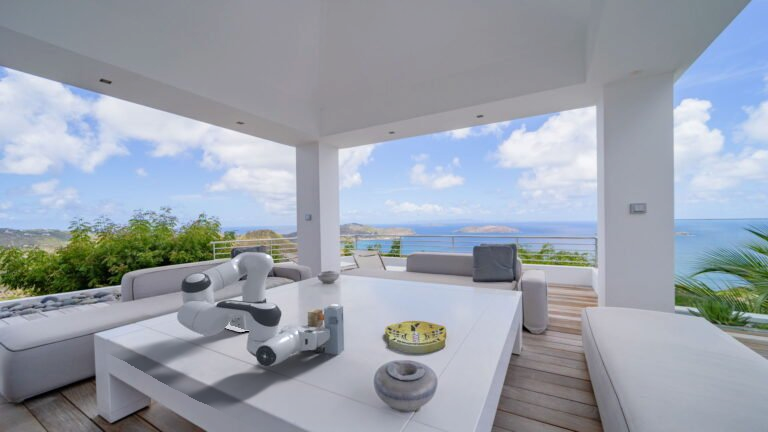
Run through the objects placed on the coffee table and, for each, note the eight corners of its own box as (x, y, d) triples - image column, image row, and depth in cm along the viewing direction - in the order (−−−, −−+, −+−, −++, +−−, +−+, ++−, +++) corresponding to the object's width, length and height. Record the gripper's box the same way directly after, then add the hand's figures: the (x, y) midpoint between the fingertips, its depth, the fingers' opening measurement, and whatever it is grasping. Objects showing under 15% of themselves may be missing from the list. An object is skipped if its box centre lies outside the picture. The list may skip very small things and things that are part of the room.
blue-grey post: (325, 353, 119) (323, 306, 119) (331, 348, 124) (330, 303, 124) (337, 355, 117) (336, 307, 117) (344, 349, 121) (342, 304, 122)
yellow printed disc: (380, 345, 118) (387, 320, 148) (381, 353, 118) (387, 327, 148) (451, 346, 115) (443, 320, 145) (451, 354, 115) (443, 327, 145)
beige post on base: (303, 345, 122) (303, 312, 122) (313, 339, 128) (313, 308, 128) (318, 347, 119) (317, 314, 119) (327, 341, 125) (326, 309, 126)
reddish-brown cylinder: (318, 320, 122) (317, 314, 122) (321, 318, 124) (321, 313, 124) (329, 321, 120) (329, 315, 120) (332, 320, 122) (332, 314, 122)
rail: (276, 345, 128) (275, 336, 128) (283, 341, 133) (283, 332, 133) (322, 352, 119) (322, 342, 119) (329, 347, 124) (329, 338, 124)
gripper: (274, 343, 115) (296, 331, 128) (318, 350, 108) (337, 336, 121) (273, 327, 115) (296, 317, 128) (317, 333, 108) (337, 321, 121)
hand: (316, 326), depth 124 cm, fingers closed on beige post on base, 4 cm apart
